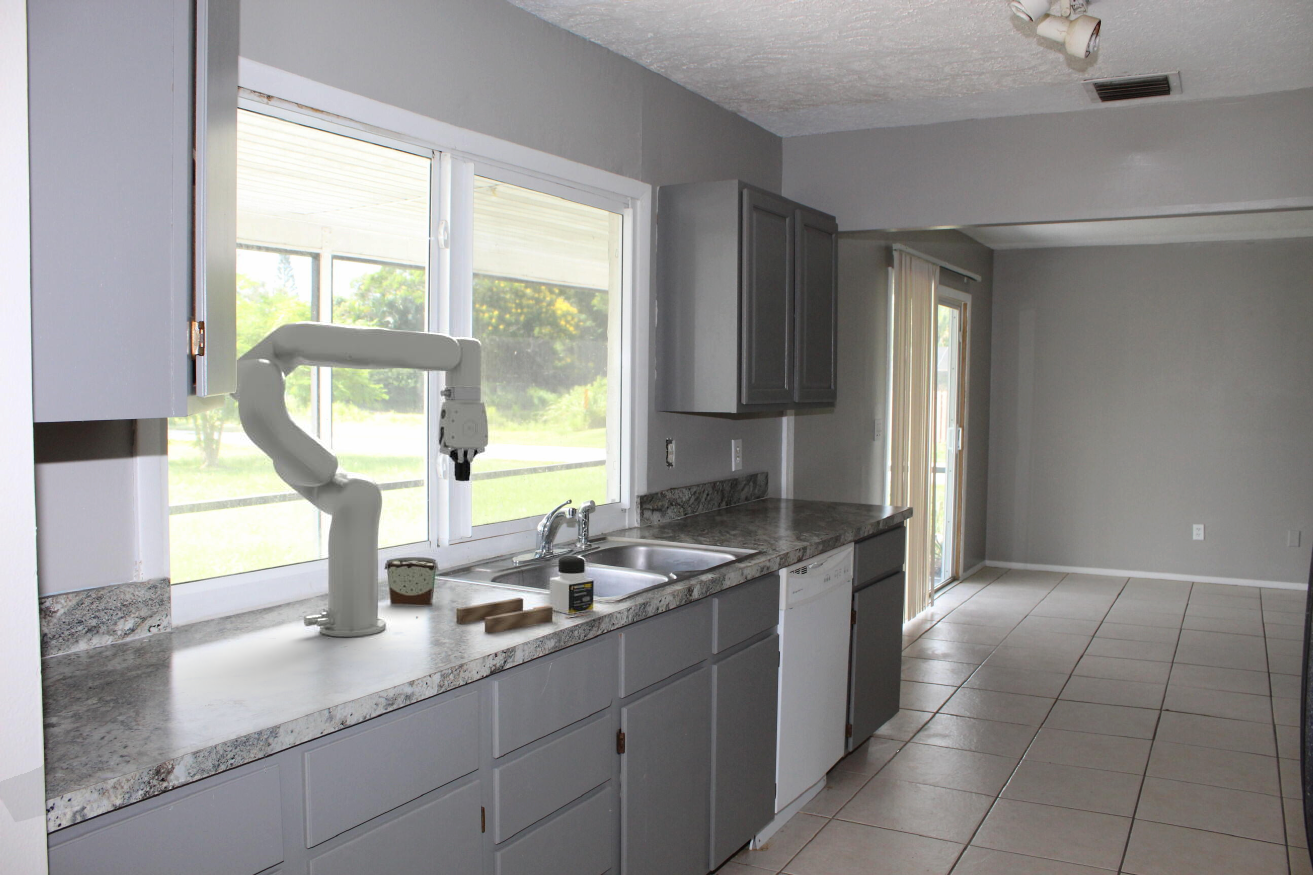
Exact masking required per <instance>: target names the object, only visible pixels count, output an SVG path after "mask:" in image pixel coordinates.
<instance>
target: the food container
mask: <svg viewBox="0 0 1313 875" xmlns="http://www.w3.org/2000/svg"><path fill="white" fill-rule="evenodd" d="M384 564H385V565H384V570H386V571H387V582H388V591H389V592H388V594H389V602H390V605H391V606H409V607H411V606H413V607H432V606H433V602H434V601H433V600H434V590H435V580H436V574H437V573H436V572H439V570H440V569H439V563H438V562H437V560H436V559H435V558H431V557H424V556H423V557H421V556H420V557H419V556H408V557H407V556H405V557H397V558H390V559H387V560H386V563H384Z"/></svg>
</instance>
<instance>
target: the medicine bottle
mask: <svg viewBox="0 0 1313 875" xmlns="http://www.w3.org/2000/svg"><path fill="white" fill-rule="evenodd" d="M586 562H587V561H586V558H584V557H583V556H581V555H563V556H562V557H559V559H558V565H557V566H558V567H557V568H558V569H557V570H558V576H556V577H550V578H549V605H550V607H553V611H554V610H555V611H554V612H558V611H559V612H558V613H561V612H562V614H564V613H566V614H565V615H568V614H571V615H575V614H574V613H576V614H580V613H579V612H581V613H586V612H590V610H592V611H593V610H594V594H595V593H594V592H595V591H594V590H595V588H594V587H595V585H594V584H595V582H594V581H595V580H594V579H593V578H591V577H586V569H587V568H586V564H587V563H586ZM585 611H586V612H585Z"/></svg>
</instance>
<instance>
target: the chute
mask: <svg viewBox="0 0 1313 875" xmlns="http://www.w3.org/2000/svg"><path fill="white" fill-rule="evenodd" d="M539 607H540V606H539ZM553 611H554V610H553V607H550V606H546V607H540V608H535V609H534V608H530V609H525V610H524V598H521V597H516V598H510V599H504V600H503V599H502V600H498V601H492V602H487V603H480V604H474V605H470V606H469V605H468V606H463V607H457V608H456V615H455V616H456V618H455V619H456V620H455V621H456V622H455V623H457V624H466V623H472V622H478V621H484V633H485V634H488V635H490V634H495V633H500V632H504V631H509V630H510V631H511V630H514V629H515V630H516V629H519V628H525V627H531V626H534V625H541V624H545V623H551V622H553V617H554V616H553Z"/></svg>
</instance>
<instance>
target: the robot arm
mask: <svg viewBox="0 0 1313 875" xmlns="http://www.w3.org/2000/svg"><path fill="white" fill-rule="evenodd" d="M236 360H237V390H236V392H235V393H230V394H228V395H229V396H230V398H232V399H233V400H235V401H236V402H237V409H238V410H237V411H238V417H239V421H240V424H241V428H242V429H243V431H244V433H245V434H246V436H247V437H248V439H249V440H250V441H251V442H252V443H253V444H254V445H255V446H257V448H258V449H260V450H261V451H262V452H263V453H264V454H265V455H266V456H267V457H269V458H270V459H271V460H272V465H273V468H274V470H275V473H276V474H277V476H278V477H279V478H280V479H281V480H282V481H283V482H284V483H286V485H288V486H289V487H291V489H292V490H294V491H296V492H297V493H298V494H299V495H301V496H302V497H303V498H304V499H305V500H307V501H308V502H310V504H312V505H313V506H314V507H316V508H317V509H319V510H320V511H321V512H323V513H325V514H327V515H328V516H329V515H330V516H331V521H330V522H331V523H330V527H329V531H328V532H329V533H328V540H327V541H328V543H327V549H328V550H327V553H328V554H327V555H328V563H327V564H328V566H327V568H328V569H327V571H328V573H327V575H328V576H327V578H328V579H327V580H328V583H327V584H328V585H327V586H328V588H327V589H328V590H327V591H328V595H327V596H328V600H327V601H328V602H327V603H328V604H327V605H328V607H324V608H323V609H322V611H323V612H320V613H319V614H315V615H313V614H312V615H307V616H304V617H303V624H304V627H312V626H316V627H319V632H320V633H321V634H323V635H326V636H331V637H340V638H342V637H343V638H345V637H346V638H347V637H348V638H349V637H350V638H351V637H362V636H363V637H364V636H369V635H373V634H377V633H380V632H382V631H384V630H385V629H386V627H387V623H386V621H385V620H384V619H382V618H379V596H378V595H379V529H380V521H381V520H380V519H381V514H382V507H383V496H382V495H383V494H382V492H381V489H380V487H379V485H378V484H377V483H376V482H375V480H374V479H372V478H371V477H370V476H367V475H365V474H363V473H359V472H353V471H347V470H345V469H344V468H343V467H341V465H339V462H338V458H337V455H336V453H335V452H334V451H333V449H332V448H331V447H330V446H329V445H328V444H327V443H325V442H324V441H322V440H321V439H320V438H319V437H318V436H316V435H315V434H314V433H313V432H312V431H310V430H309V429H308V428H306V426H304V425H303V424H302V423H300V421H299V420H298V419H297V418H295V416H293V415H292V413H291V412H290V411H289V410H288V408H287V406H286V402H285V392H286V385H287V382H286V381H287V380H286V377H288V376H289V375H290V374H291V373H293V372H294V371H295V370H296V369H297V368H298V367H299V366H304V367H305V366H306V367H307V366H308V367H320V368H321V367H323V368H339V369H341V368H342V369H353V370H387V369H408V370H409V369H412V370H413V369H414V370H418V371H419V372H420V371H421V372H444V380H445V382H444V389H440V396H441V397H444V401H443V402H442V404H441V407H440V408H441V409H440V413H439V422H438V434H437V438H438V445H439V446H440V447H439V453H440V454H442V455H446V456H448V457H449V458H450V459H451V461H452V462H453V463H454V471H453V472H454V474H453V475H454V479H455V481H457V482H458V481H459V482H469V481H470V479H471V478H470V476H471V463H472V462H473V461H474V459H475V457H476V456H477V455H479V454H481V453H485V452H486V447H488V444H489V427H488V426H489V425H488V415H487V410H486V404H485V402H482V401H481V400H482V399H481V398H482V396H481V395H482V390H481V389H482V388H481V386H482V345H481V341H479V339H476V338H472V337H452V336H451V335H448V334H444V333H437V332H436V333H435V332H423V331H412V330H411V331H410V330H398V329H389V328H383V327H382V328H381V327H372V326H371V327H369V326H359V325H349V324H348V325H347V324H336V323H327V322H326V323H325V322H317V321H294V322H290V323H289V322H288V323H285V324H283V325H280V326H279V327H277V328H276V329H275V330H273V331H272V332H270V334H268V335H267V336H265V337H264V338H263V339H262V340H261V341H259V342H258V343H257V344H255V345H254V346H253V347H251V348H250V349H249V350H248V351H247V352H245V353H244V354H243V355H241V356H239V357H238V358H237V359H236Z"/></svg>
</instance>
